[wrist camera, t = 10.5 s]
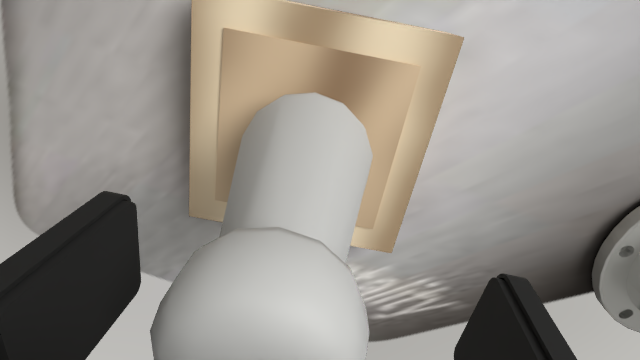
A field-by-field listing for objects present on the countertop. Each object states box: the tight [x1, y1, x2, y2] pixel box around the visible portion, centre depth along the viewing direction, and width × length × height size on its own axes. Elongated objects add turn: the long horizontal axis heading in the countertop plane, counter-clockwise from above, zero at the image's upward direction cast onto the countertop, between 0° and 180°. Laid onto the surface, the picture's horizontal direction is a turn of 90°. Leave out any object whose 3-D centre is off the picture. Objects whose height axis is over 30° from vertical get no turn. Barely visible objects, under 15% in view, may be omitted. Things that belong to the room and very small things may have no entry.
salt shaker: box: [150, 92, 373, 360], centre depth 12 cm, size 6×6×13 cm
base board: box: [189, 0, 464, 253], centre depth 19 cm, size 12×12×3 cm
